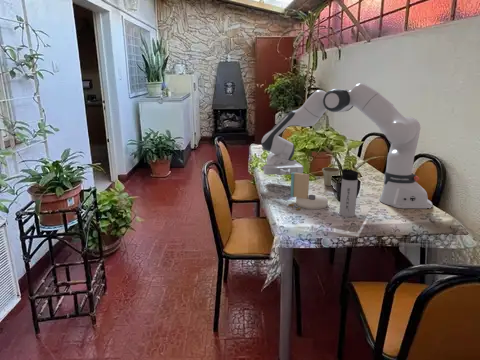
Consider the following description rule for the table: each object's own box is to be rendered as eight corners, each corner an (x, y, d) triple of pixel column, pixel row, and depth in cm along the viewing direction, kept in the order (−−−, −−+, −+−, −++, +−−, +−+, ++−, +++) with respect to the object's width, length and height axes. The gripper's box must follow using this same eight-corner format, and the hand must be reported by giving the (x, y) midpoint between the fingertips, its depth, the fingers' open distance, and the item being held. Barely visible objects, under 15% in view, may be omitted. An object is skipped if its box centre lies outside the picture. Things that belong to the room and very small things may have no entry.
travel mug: (345, 212, 159) (349, 167, 154) (357, 217, 154) (361, 171, 148) (335, 215, 156) (338, 169, 151) (347, 220, 151) (351, 173, 145)
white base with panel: (331, 202, 169) (333, 173, 165) (322, 211, 157) (324, 181, 154) (296, 196, 177) (297, 169, 173) (285, 205, 165) (286, 176, 161)
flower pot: (339, 187, 195) (340, 172, 193) (321, 186, 197) (322, 171, 195) (338, 182, 204) (339, 167, 202) (321, 182, 206) (322, 167, 204)
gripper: (260, 161, 191) (266, 167, 178) (298, 160, 195) (307, 166, 181) (260, 172, 193) (266, 180, 180) (297, 171, 196) (306, 178, 183)
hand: (287, 173), depth 181 cm, fingers closed
